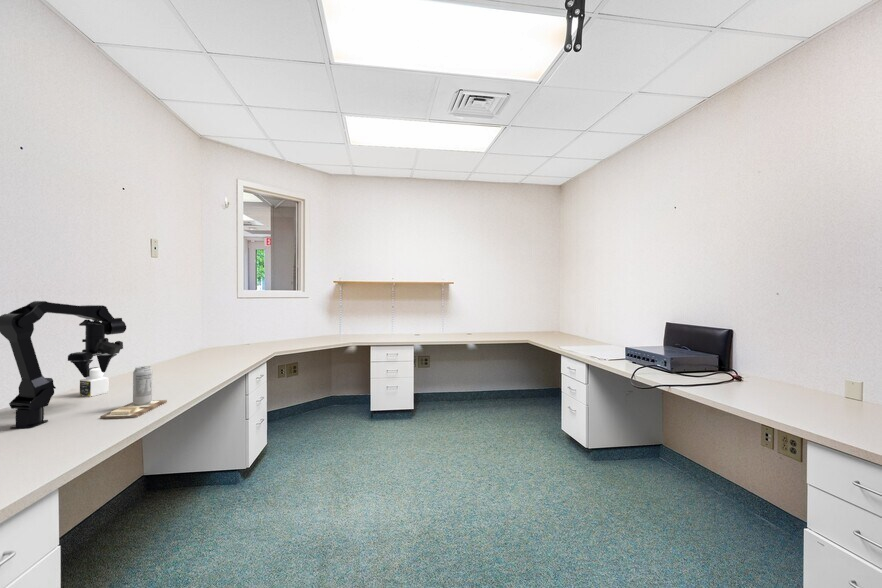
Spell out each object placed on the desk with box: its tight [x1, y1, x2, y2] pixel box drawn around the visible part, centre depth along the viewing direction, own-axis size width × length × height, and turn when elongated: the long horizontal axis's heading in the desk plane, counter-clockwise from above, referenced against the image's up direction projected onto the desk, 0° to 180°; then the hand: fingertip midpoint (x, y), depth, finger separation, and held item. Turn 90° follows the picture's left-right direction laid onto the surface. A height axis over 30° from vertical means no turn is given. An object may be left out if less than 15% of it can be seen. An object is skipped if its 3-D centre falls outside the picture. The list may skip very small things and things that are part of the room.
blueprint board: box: [99, 399, 168, 420], centre depth 143 cm, size 20×12×2 cm, turn 9°
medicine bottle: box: [79, 366, 110, 398], centre depth 165 cm, size 7×7×12 cm
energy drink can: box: [132, 365, 153, 406], centre depth 148 cm, size 6×6×15 cm
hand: (94, 374), depth 147 cm, fingers open, 9 cm apart
